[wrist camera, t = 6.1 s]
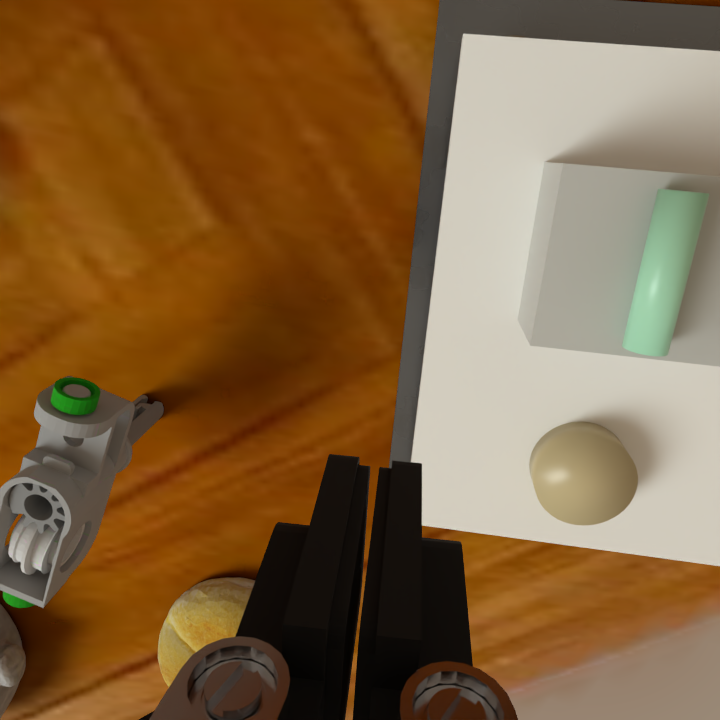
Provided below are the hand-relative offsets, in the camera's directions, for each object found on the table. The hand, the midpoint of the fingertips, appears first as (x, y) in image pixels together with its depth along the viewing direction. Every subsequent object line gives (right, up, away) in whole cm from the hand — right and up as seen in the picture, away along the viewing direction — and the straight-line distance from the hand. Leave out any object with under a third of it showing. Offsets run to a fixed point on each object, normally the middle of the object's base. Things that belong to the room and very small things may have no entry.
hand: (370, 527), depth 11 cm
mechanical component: (-11, +1, +22) cm, 24 cm away
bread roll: (-7, -13, +26) cm, 30 cm away
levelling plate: (+10, +5, +14) cm, 18 cm away
